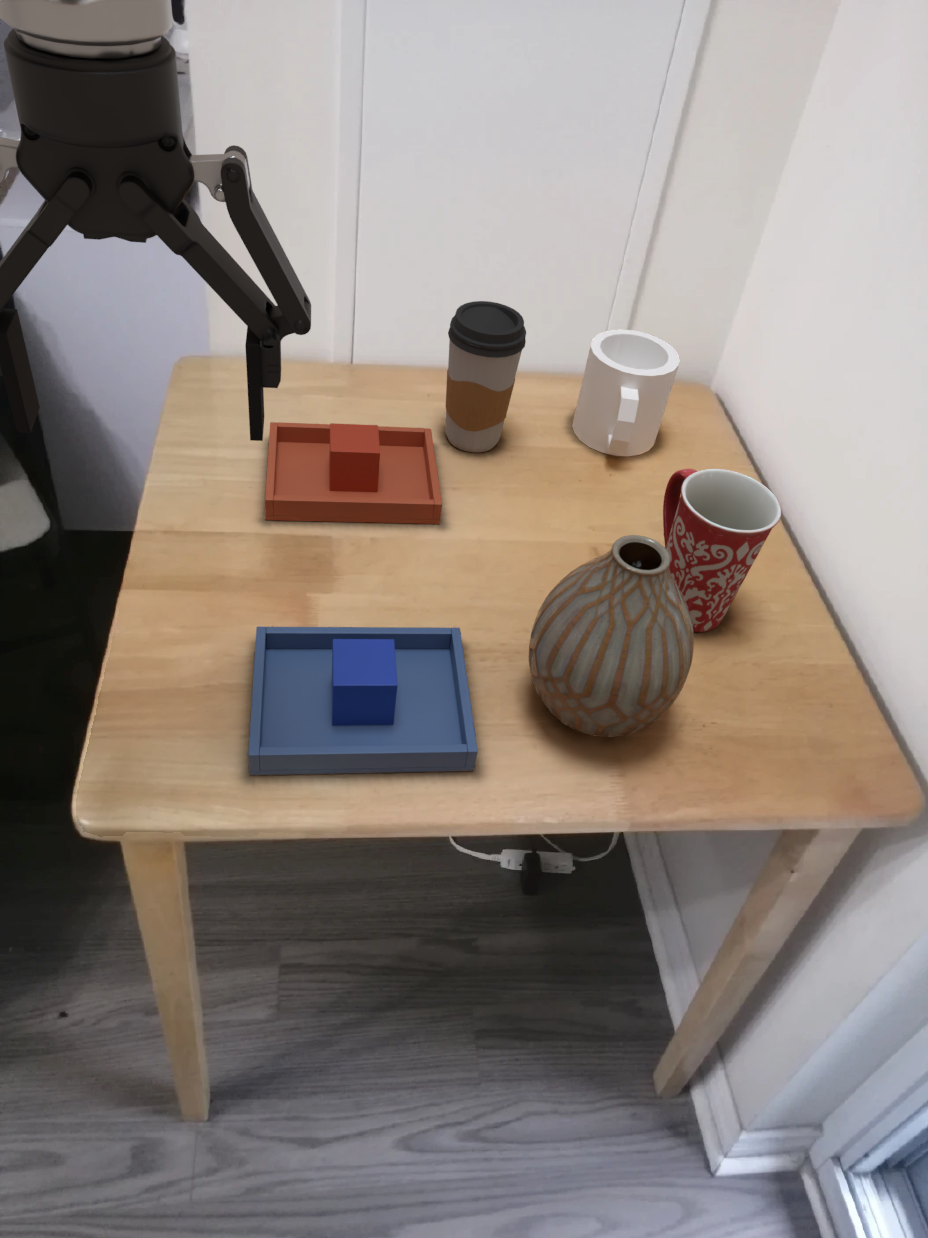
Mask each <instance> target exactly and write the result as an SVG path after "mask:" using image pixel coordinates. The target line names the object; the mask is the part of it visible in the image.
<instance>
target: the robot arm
mask: <svg viewBox="0 0 928 1238" xmlns="http://www.w3.org/2000/svg"><path fill="white" fill-rule="evenodd" d="M0 20H1V21H3V22H4V23H5V24H6V25H8V26H9V27H10V28H12V29H11V30H10V31H9V32H8V33H7V37H6V38H5V39H4V41H3V48H4V52H5V58H6V63H7V68H8V73H9V78H10V83H11V88H12V93H13V98H14V103H15V108H16V114H17V119H18V123H19V126H20V127H19V128H20V139H19V140H17V139H11V138H6V137H1V136H0V185H2V184H4V182H5V180H6V179H7V177H8V175H9V174H10V170H11V169H18V170H19V172H20V173H21V175H22V176H23V177H24V178H25V179H26V180H27V182H28V183H29V184H30V185H31V186H32V187H33V188H34V189H35V191H36V192H37V193H38V194H39V195H40V196H41V197H42V198H43V199H44V200H43V202H42V204H41V205H40V206H39V208H38V210H37V211H36V212H35V214H34V215H33V216H32V218H31V219H30V221H29V222H28V223H27V225H26V226H25V228H24V229H23V230H22V232H21V233H20V234H19V235H18V236H17V238H16V240H15V241H14V242H13V244H12V245H11V246H10V248H9V249H8V250H7V251H6V253H5V255H4V256H3V257H2V259H1V260H0V377H2V379H3V382H4V387H5V389H6V390H5V391H6V393H7V394H6V395H7V398H8V401H9V406H10V410H11V414H12V417H13V421H14V425H15V429H16V433H28V434H29V433H31V432H32V429H33V427H34V424H35V422H36V419H37V416H38V414H39V411H40V408H41V406H40V402H39V398H38V393H37V389H36V385H35V381H34V375H33V371H32V368H31V364H30V359H29V355H28V350H27V346H26V341H25V337H24V333H23V329H22V324H21V319H20V316H19V311H18V309H17V308H4V307H5V306H6V304H7V303H8V302H9V300H10V299H11V298H12V296H13V295H14V294H15V293H16V291H17V290H18V289H19V287H20V286H21V285H22V284H23V282H24V281H25V280H26V278H27V277H28V276H29V275H30V273H31V272H32V271H33V269H34V268H35V267H36V265H37V264H38V263H39V261H40V260H41V258H42V257H43V256H44V255H45V254H46V252H47V251H48V249H49V248H50V247H52V246H53V244H54V243H55V242H56V240H57V239H58V238H59V237H60V235H62V232H63V231H64V230H65V229H66V227H67V226H68V227H69V228H70V229H71V230H73V231H75V232H77V233H80V234H81V235H83V239H84V240H99V241H100V240H104V239H110V238H117V239H120V240H124V241H127V242H130V243H141V244H142V243H144V244H146V243H147V241H148V240H149V239H151V238H154V237H158V238H159V240H160V241H162V242H163V243H164V244H165V246H166V247H167V248H168V249H169V250H170V251H171V252H172V253H174V254H175V255H176V256H180V257H181V258H183V260H185V262H187V264H188V265H189V266H190V267H191V268H192V269H193V270H194V271H195V272H196V274H198V276H200V278H202V279H203V281H204V282H205V283H206V284H207V285H208V286H209V287H210V288H211V289H212V290H213V291H214V292H215V293H216V294H217V295H218V297H219V298H220V299H221V300H222V301H223V302H224V303H225V304H226V305H227V307H228V308H230V310H231V311H232V312H234V313H235V315H236V316H237V317H238V318H239V319H240V320H241V321H242V322H243V324H245V325H246V336H245V364H246V365H245V366H246V383H247V385H246V386H247V402H248V404H247V405H248V421H249V422H248V423H249V424H248V425H249V441H251V442H252V441H253V442H254V441H256V442H263V440H264V429H265V428H264V427H265V396H264V394H265V393H264V389H265V388H266V389H279V386H280V383H281V382H282V340H283V339H284V338H285V337H286V336H289V335H293V334H295V335H299V336H304V335H306V334H309V332H310V331H311V329H312V303H311V300H310V298H309V296H308V295H307V292H306V290H305V288H304V287H303V285H302V283H301V281H300V279H299V276H298V275H297V273H296V271H295V269H294V267H293V266H292V264H291V262H290V260H289V257H288V256H287V254H286V252H285V250H284V248H283V246H282V244H281V242H280V240H279V239H278V236H277V234H276V233H275V231H274V229H273V227H272V225H271V223H270V221H269V219H268V217H267V215H266V213H265V212H264V209H263V208H262V205H261V204H260V201H259V200H258V198H257V196H256V194H255V192H254V191H253V186H252V185H253V184H252V177H251V172H250V166H249V165H250V164H249V158H248V154H247V152H246V151H245V149H243V147H241V146H240V145H230V146H228V147H227V148H226V149H225V151H224V152H223V153H212V154H210V153H209V154H192V153H191V151H190V149H189V147H188V145H187V144H186V141H185V138H184V132H183V121H182V113H181V112H182V111H181V101H180V100H181V99H180V89H179V88H180V87H179V77H178V66H177V65H178V64H177V54H176V50H175V47H174V46H172V44H171V43H170V41H169V40H168V39H167V38H166V37H164V36H166V35H167V33H168V32H169V31H170V30H171V29H172V28H173V26H174V25H173V24H174V20H173V8H172V0H0ZM194 183H200V184H203V186H205V187H206V188H207V189H208V191H209V194H210V195H211V197H212V198H213V199H214V200H215V201H217V202H219V203H220V202H221V203H225V206H226V210H227V212H228V215H229V219H230V220H231V222H232V225H233V227H234V228H235V230H236V232H237V234H238V236H239V238H240V239H241V241H242V243H243V245H244V246H245V248H246V250H247V252H248V254H249V256H250V258H251V260H252V261H253V263H254V265H255V267H256V268H257V271H258V272H259V274H260V276H261V278H262V279H263V281H264V283H265V285H266V287H267V289H268V291H269V292H270V294H271V296H272V297H273V299H274V302H275V303H276V304H275V303H274V302H273V301H272V300H271V298H270V297H268V295H267V294H266V293H265V292H264V291H263V290H262V289H261V288H260V287H259V286H258V284H257V283H256V282H255V281H254V280H253V278H252V277H251V276H250V275H249V274H248V273H247V272H246V271H245V270H244V269H243V268H242V267H241V266H240V264H239V263H238V262H237V260H235V259H234V258H233V256H232V255H231V254H230V253H229V252H228V251H227V249H225V248H224V247H223V245H222V244H221V243H220V242H219V241H218V240H217V239H216V237H215V236H213V234H212V233H211V232H210V231H209V230H208V228H207V227H206V226H205V225H204V224H203V223H202V221H201V219H200V216H199V215H198V213H197V212H196V210H194V208H193V207H192V206H191V205H190V203H188V202H187V200H186V199H185V198H186V197H187V195H188V193H189V192H190V190H191V189H192V187H193V185H194Z"/></svg>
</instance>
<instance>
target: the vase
mask: <svg viewBox="0 0 928 1238" xmlns="http://www.w3.org/2000/svg"><path fill="white" fill-rule="evenodd" d="M669 565H670V555H669V553H668V551H667V550H666V549H665V545H662V544H661V543H660V542H659V541H657V540H655V539H653V538H652V537H651V538H650V537H648V536H644V535H639V534H630V535H629V534H628V535H624V536H621V537H619V538H617V539H616V540H615V541H614V542H613V544H612V546H611V549H609V550H608V552H606V553H604V554H602V555H600V556H596V557H595V558H592V559H590V560H588V561H586V562H585V563H583V564H580V566H577V567H576V568H575V569H573V570H572V571H570V572H569V573H567V574H566V575H565V576H564V577H563V578H562V579H561V580H559V582H558V583H557V584H556V585H555V586H554V587H553V588H552V589H551V591H550V592H549V593H547V596H546V597H545V599H544V601H543V602H542V604H541V606H540V607H539V609H538V611H537V614H536V617H535V619H534V622H533V626H532V629H531V632H530V638H529V645H528V667H529V671H530V676H531V680H532V683H533V686H534V689H535V691H536V693H537V695H538V697H539V699H540V701H541V702H542V703H543V705H544V706H545V708H546V709H547V710H548V712H549V713H551V715H553V716H554V717H555V718H556V719H557V720H558V721H560V722H561V723H562V724H563V725H564V726H567V727H568V728H571V729H572V730H574V731H576V732H579V733H582V734H585V735H589V736H594V737H599V738H615V737H621V736H625V735H630V734H632V733H637V732H638V731H641V730H643V729H645V728H647V727H648V726H650V725H652V724H653V723H654V722H656V721H657V720H659V719H660V718H661V717H662V716H663V715H664V714H665V713H667V711H668V710H670V708H671V707H672V705H674V703H675V701H676V700H677V699H678V697H679V695H680V694H681V691H682V690H683V688H684V685H685V684H686V681H687V680H688V679H687V678H688V676H689V672H690V671H691V670H690V669H691V666H692V663H693V658H694V649H695V646H694V645H695V636H694V632H693V625H692V620H691V616H690V612H689V609H688V606H687V603H686V601H685V598H684V596H683V594H682V592H681V591H680V589H679V587H678V585H677V583H676V582H675V580H674V578H673V577H672V575H671V573H670V570H669Z"/></svg>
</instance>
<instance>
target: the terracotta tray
mask: <svg viewBox="0 0 928 1238" xmlns="http://www.w3.org/2000/svg"><path fill="white" fill-rule="evenodd" d="M378 431H379V444H380V463H379V479H378V492H355V491H330V486H329V448H330V423H308V422H307V423H305V422H303V423H302V422H283V421H281V422H275V421H274V422H273V421H271V422H269V432H268V433H269V434H268V449H267V450H268V451H267V465H266V481H265V495H264V504H265V505H264V507H265V509H264V510H265V520H266V521H292V522H331V523H332V522H333V523H334V522H338V523H339V522H340V523H377V524H379V523H382V524H383V523H384V524H422V525H424V524H425V525H440V523H441V517H442V509H443V508H442V507H443V501H442V494H441V486H440V480H439V475H438V473H439V472H438V467H437V459H436V454H435V446H434V440H433V432H432V428H429V427H410V426H408V427H407V426H406V427H405V426H383V425H378Z"/></svg>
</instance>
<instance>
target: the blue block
mask: <svg viewBox="0 0 928 1238" xmlns="http://www.w3.org/2000/svg"><path fill="white" fill-rule="evenodd" d="M397 686H398V684H397V671H396V657H395V644H394V639H333V645H332V725H333V726H337V725H393V724H394V715H395V705H396V696H397Z"/></svg>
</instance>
